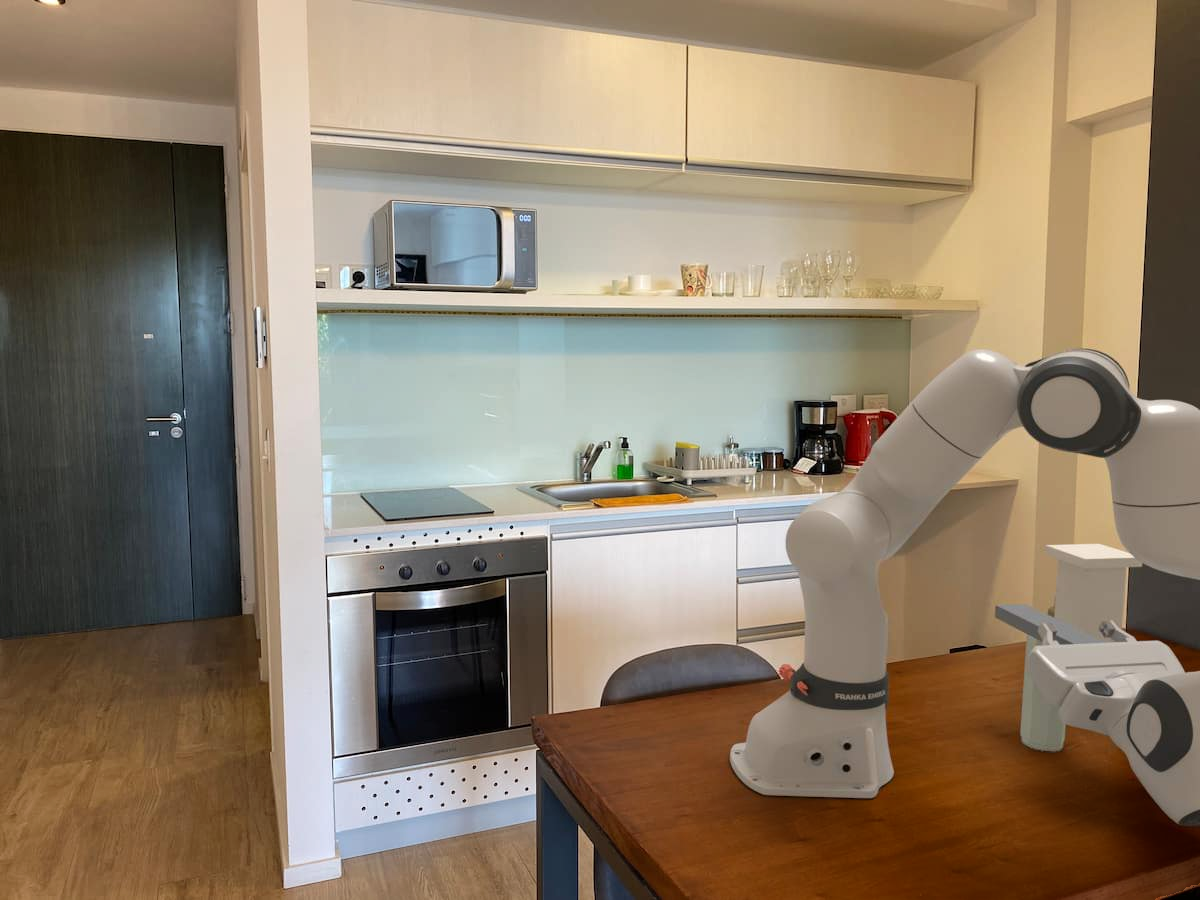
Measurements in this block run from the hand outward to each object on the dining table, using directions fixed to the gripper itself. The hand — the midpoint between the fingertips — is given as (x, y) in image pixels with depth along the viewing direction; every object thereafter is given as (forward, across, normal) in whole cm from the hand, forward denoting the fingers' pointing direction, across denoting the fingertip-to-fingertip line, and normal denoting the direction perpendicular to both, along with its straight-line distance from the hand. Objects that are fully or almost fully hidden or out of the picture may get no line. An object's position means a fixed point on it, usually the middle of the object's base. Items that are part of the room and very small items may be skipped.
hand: (1074, 625), depth 129 cm
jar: (-5, 0, +20) cm, 21 cm away
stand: (+6, -16, +26) cm, 31 cm away
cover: (+3, 0, +6) cm, 6 cm away
